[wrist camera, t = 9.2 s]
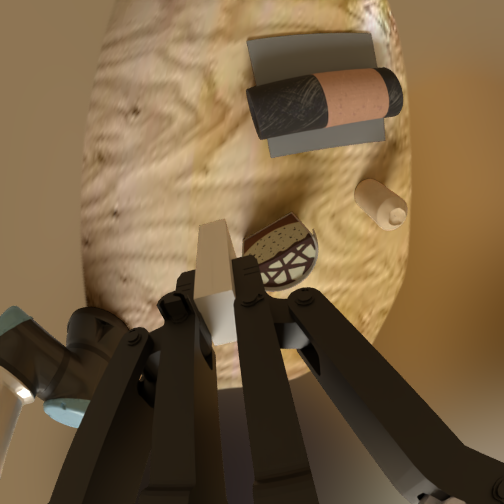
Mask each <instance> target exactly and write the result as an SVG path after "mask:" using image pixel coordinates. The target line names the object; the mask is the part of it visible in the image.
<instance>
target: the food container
mask: <svg viewBox="0 0 504 504" xmlns="http://www.w3.org/2000/svg"><path fill="white" fill-rule="evenodd" d="M251 254H252V255H253V256H254V257H255V258H257V261H258V264H259V268H260V272H261V276H262V280H263V284H264V288H265V291H270V292H274V291H282V290H286V289H289V288H292V287H294V286H296V285H298V284H299V283H301V282H302V281H303V280H304V279H306V278H307V276H308V275H309V274H310V273H311V271H312V270H313V268H314V266H315V264H316V261H317V257H318V242H317V237H316V233H315V231H314V229H313V235H312V234H311V232H310V231H309V230H308V229H307V228H306V227H305V226H304V224H303V223H302V222H301V221H300V220H299V219H298V218H297V217H296V216H295V214H294V213H293V212H290V213H289V214H287V215H285V216H283V217H282V218H280V219H278V220H276V221H275V222H273V223H271V224H270V225H268V226H266V227H265V228H263V229H261V230H259V231H258V232H256V233H254V234H253V235H251V236H249V237H248V238H246V239H244V240H243V246H242V257H243V256H247V255H251Z"/></svg>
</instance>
